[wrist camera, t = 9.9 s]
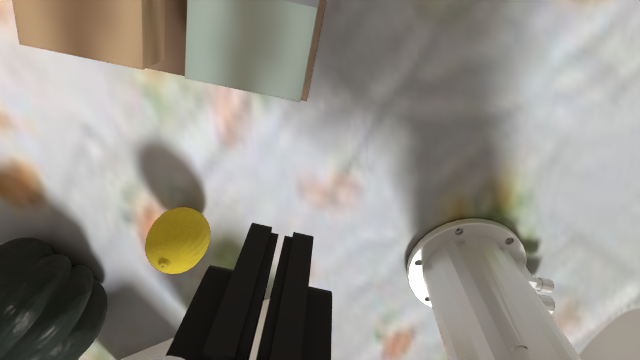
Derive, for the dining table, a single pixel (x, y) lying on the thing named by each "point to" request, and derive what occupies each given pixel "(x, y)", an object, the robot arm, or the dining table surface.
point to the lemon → (177, 240)
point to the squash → (46, 303)
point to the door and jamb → (186, 38)
